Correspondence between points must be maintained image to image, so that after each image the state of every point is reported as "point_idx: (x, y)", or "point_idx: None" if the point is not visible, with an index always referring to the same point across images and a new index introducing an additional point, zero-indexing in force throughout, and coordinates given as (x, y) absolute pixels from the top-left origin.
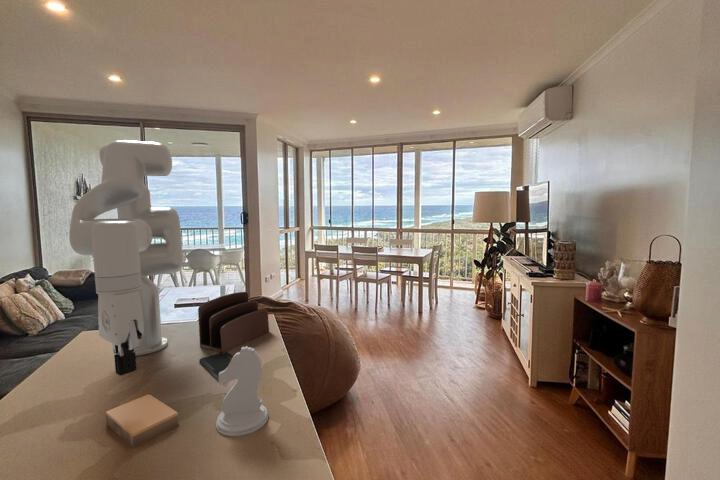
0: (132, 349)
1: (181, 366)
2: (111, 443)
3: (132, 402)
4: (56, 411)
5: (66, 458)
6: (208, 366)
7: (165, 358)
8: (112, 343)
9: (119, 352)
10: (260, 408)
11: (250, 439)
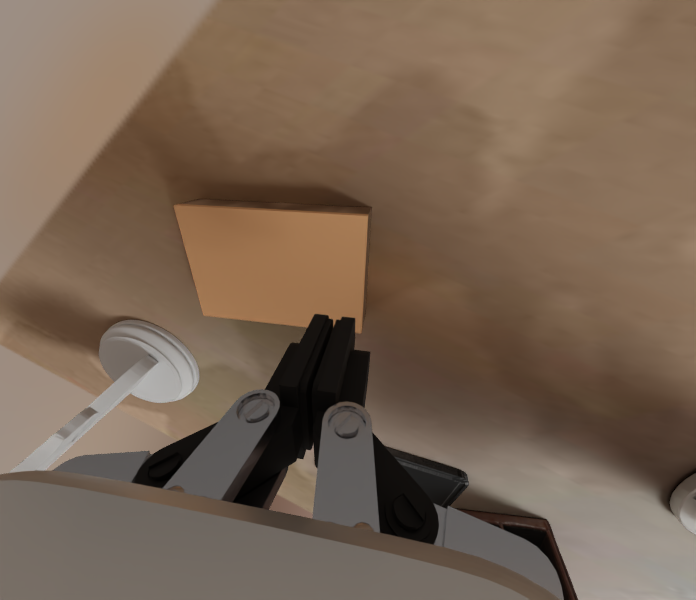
0: (80, 459)
1: (492, 450)
2: (259, 172)
3: (352, 287)
4: (659, 133)
5: (279, 49)
6: (410, 464)
7: (593, 466)
8: (373, 489)
9: (255, 417)
10: (133, 391)
11: (90, 331)
